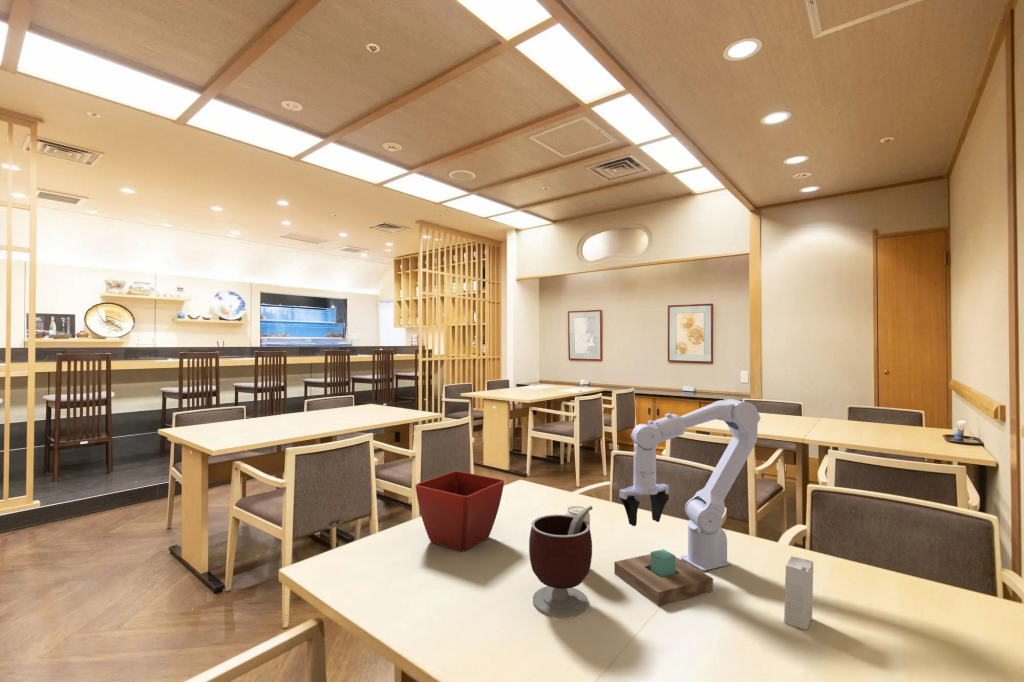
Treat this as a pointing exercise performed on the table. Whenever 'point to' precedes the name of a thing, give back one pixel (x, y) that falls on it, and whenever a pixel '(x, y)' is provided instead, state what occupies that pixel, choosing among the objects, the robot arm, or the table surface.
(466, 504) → the plant pot
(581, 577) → the mate gourd
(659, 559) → the teal peg
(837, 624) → the table surface
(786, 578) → the skincare box
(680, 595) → the holder block
